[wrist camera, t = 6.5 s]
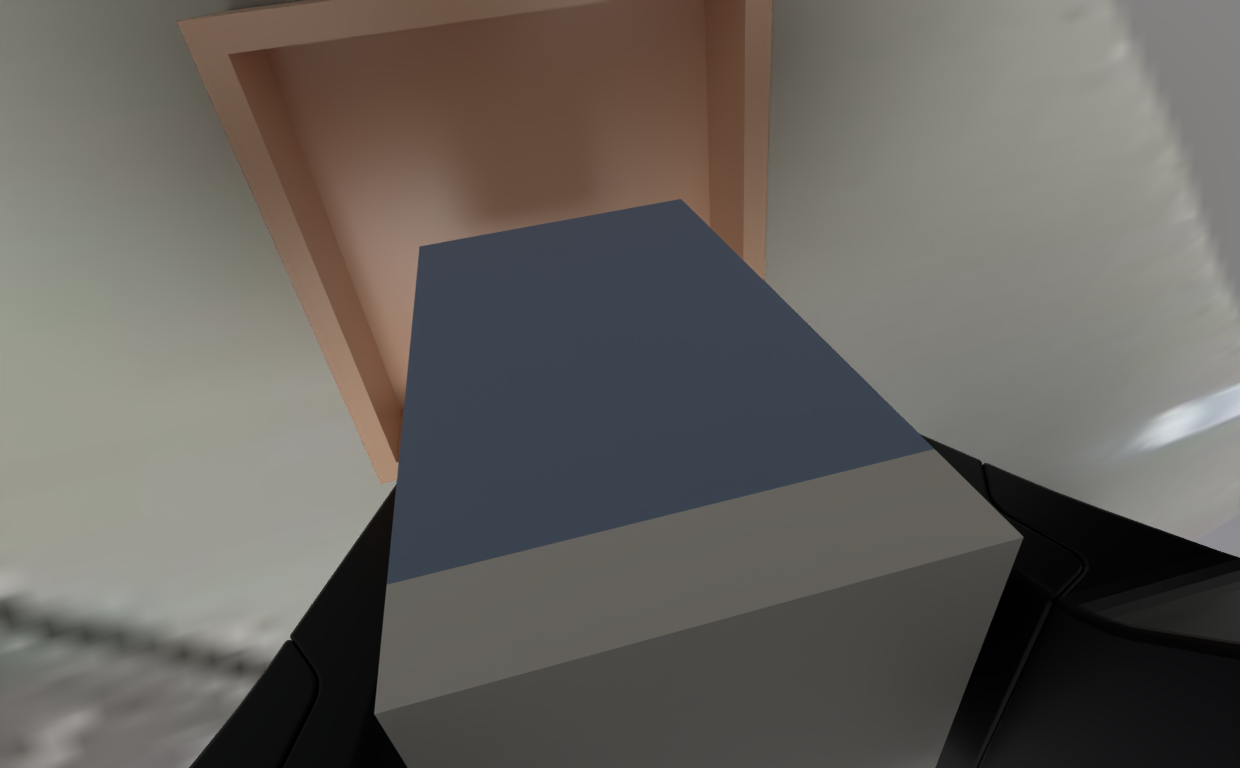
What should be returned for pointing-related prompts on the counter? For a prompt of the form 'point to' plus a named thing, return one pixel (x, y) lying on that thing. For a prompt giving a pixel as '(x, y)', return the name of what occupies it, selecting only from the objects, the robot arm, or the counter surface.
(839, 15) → the counter surface
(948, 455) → the robot arm
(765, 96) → the bin
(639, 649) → the block
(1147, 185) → the counter surface
